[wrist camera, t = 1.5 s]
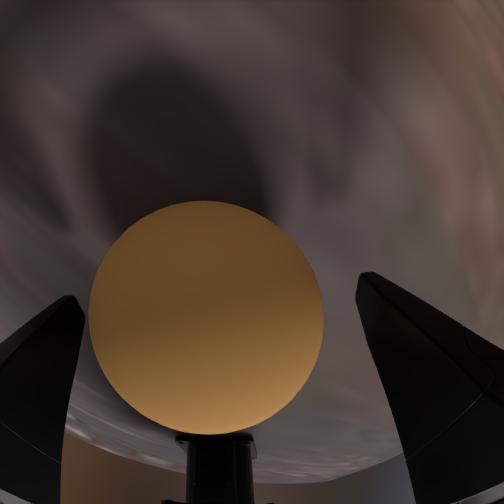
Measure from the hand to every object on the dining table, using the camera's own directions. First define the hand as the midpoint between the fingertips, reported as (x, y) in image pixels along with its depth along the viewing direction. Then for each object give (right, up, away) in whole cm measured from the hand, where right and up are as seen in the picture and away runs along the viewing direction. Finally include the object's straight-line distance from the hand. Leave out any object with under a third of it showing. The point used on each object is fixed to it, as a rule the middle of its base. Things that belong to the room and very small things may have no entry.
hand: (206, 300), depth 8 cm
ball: (0, 0, -1) cm, 1 cm away
